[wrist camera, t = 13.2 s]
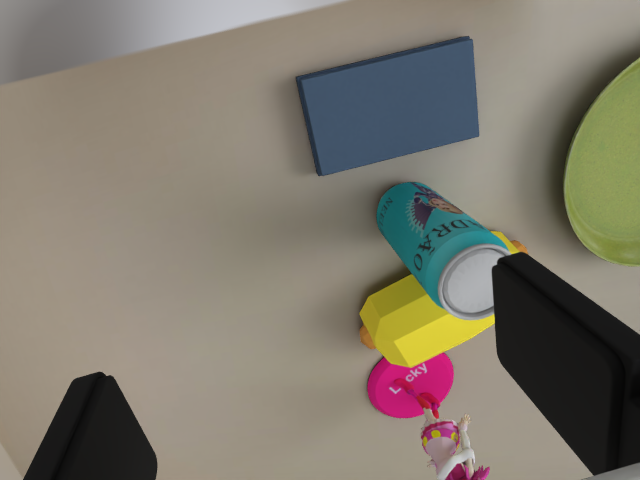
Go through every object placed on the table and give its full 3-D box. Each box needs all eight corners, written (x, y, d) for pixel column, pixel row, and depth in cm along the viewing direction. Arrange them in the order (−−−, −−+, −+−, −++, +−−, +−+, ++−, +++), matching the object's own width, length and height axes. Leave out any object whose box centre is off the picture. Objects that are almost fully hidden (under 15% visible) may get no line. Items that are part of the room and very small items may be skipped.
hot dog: (338, 303, 44) (373, 356, 47) (353, 344, 38) (392, 402, 41) (502, 208, 42) (527, 269, 46) (545, 234, 36) (570, 302, 39)
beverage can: (433, 174, 40) (530, 235, 26) (430, 233, 42) (518, 319, 29) (371, 179, 39) (436, 245, 26) (371, 240, 42) (432, 330, 28)
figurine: (418, 327, 46) (490, 442, 32) (469, 377, 50) (554, 499, 36) (348, 385, 48) (390, 518, 34) (403, 429, 51) (460, 566, 38)
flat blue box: (295, 76, 35) (297, 77, 34) (464, 36, 36) (475, 35, 34) (316, 173, 38) (320, 179, 37) (471, 134, 39) (482, 138, 38)
